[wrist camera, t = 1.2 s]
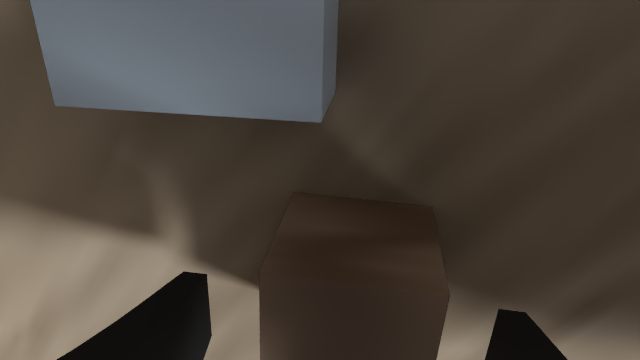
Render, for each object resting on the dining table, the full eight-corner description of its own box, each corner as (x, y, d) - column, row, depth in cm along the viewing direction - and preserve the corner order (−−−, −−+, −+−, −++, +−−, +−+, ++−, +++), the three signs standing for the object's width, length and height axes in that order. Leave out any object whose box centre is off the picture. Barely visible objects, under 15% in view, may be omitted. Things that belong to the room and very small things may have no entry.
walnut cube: (431, 205, 13) (450, 295, 9) (413, 314, 14) (421, 427, 11) (294, 190, 13) (259, 271, 9) (291, 298, 15) (260, 402, 11)
